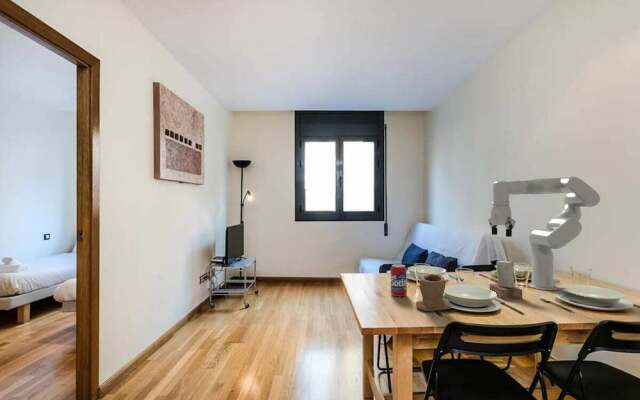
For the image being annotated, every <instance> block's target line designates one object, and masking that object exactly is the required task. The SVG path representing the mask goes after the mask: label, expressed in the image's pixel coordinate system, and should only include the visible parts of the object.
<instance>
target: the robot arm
mask: <svg viewBox="0 0 640 400" xmlns="http://www.w3.org/2000/svg"><path fill="white" fill-rule="evenodd" d="M550 194H565V195H564V197H563V201H564V202H563V203H564V206H563V210H561V212H559V213H558V214H557V215H555V216H554V217H553V218H552V219H550V220H549V221H548V222H547V223H546V229H545V228H536V229H534V230H532V231H531V232H530V233H529V237H528V240H529V243H530V244H529V245H530V250H531V251H530V252H531V253H530V254H531V282H528V287H530V288H533V289H537V290H541V291H556V290H558V286H556V284H558V285H559V284H561V280H560V279H554V254H553V253H554V252H553V250H559V249H561V248H564V247H565V246H567V245H568V244H569V243H570V242H572V241H573V240H575V239H576V238H577V237H578V236H579V235H580V234H581V232H582V230H583V226H582V223H581V222H580V220H581V218H582V213H581V207H584V208H585V207H586V208H587V207H588V208H592V207H595V206H597V205H599V203H600V201H601V196H600V194H599V193H598V192H597V191H596V190H595V189H594V188H593V187H592V186H590V185H589V184H588V183H587V182H585V181H584V180H582V179H581V178H580V177H577V176H564V177H552V178H551V177H550V178H549V177H548V178H535V179H528V180H510V181H506V180H505V181H504V180H503V181H494V182H493V183H492V200H493V202H492V207H491V210H490V218H489V219H487V220H488V223H489V225H490V228H491V235H492V236H498V227H497V226H505V228H506V229H505V237H507V238H511V237H513V229H514V228H515V225H516V220H514V218H512V210H511V207H510V196H513V195H514V196H517V195H550ZM552 249H553V250H552Z"/></svg>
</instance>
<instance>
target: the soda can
mask: <svg viewBox="0 0 640 400" xmlns="http://www.w3.org/2000/svg"><path fill="white" fill-rule="evenodd" d="M407 271H408V270H407V267H406V265H405V264H402V263H401V264H399V263H397V264H392V265H391V267H390V294H391V295H392V296H393V297H396V296H399V297H398V298H402V297H401V296H403V297H405V296H407V294H408V292H407V291H408V290H407V289H408V287H407V285H408V284H407V282H408V279H407V278H408V277H407V276H408V273H407Z"/></svg>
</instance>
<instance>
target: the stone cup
mask: <svg viewBox="0 0 640 400" xmlns="http://www.w3.org/2000/svg"><path fill="white" fill-rule="evenodd" d="M445 288H446V281H445V279H444V277H443V276H441V275H439V274H435V273H430V274H426V275H422V276H421V277H420V279H419V289H420V293H421V296H422V297H421V298H422V300H418V301H416V302H415V306H416V307H417V308H418V309H419V310H422V311H427V312H434V311H443V310H451V309H452V305H451V304H450V302H449V299H448V298H444V293H445Z"/></svg>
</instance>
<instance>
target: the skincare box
mask: <svg viewBox="0 0 640 400" xmlns="http://www.w3.org/2000/svg"><path fill="white" fill-rule="evenodd" d="M514 271H515V270H514V261H504V260H497V261H496V278H497V284H498V286H503V287H509V288H512V287H514V286H515V272H514Z"/></svg>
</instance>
